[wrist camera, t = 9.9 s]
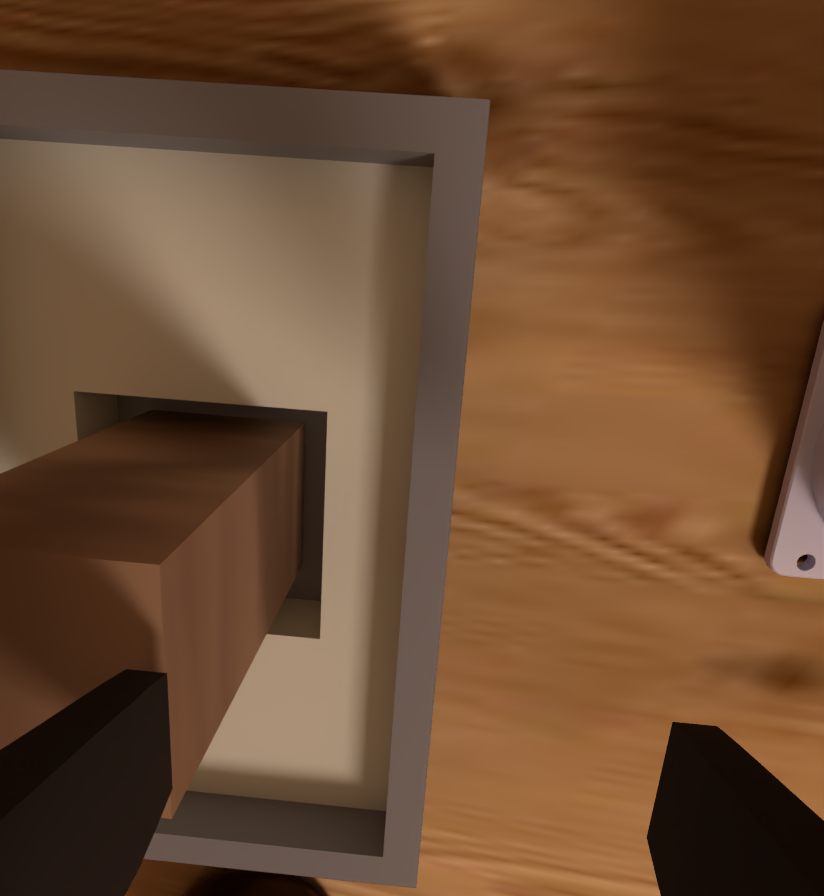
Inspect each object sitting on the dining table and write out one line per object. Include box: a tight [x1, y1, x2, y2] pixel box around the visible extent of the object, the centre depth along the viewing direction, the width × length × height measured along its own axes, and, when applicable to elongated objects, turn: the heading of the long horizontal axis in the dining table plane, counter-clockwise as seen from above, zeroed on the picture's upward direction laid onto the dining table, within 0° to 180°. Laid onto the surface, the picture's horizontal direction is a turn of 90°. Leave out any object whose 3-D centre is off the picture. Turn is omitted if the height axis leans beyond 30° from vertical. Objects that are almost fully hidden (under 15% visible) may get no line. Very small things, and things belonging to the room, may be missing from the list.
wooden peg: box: [0, 410, 305, 819], centre depth 13 cm, size 4×4×9 cm
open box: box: [0, 69, 490, 888], centre depth 16 cm, size 13×20×4 cm, turn 176°
